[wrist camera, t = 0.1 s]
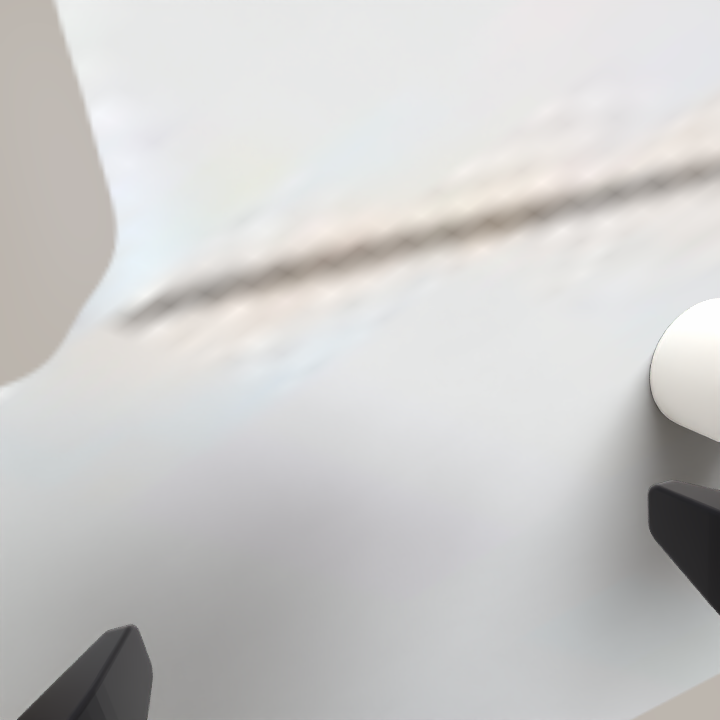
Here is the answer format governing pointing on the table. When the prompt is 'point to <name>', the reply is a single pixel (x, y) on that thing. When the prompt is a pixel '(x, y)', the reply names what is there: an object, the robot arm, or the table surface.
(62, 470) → the table surface
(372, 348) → the table surface
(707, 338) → the cylindrical container
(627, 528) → the table surface
